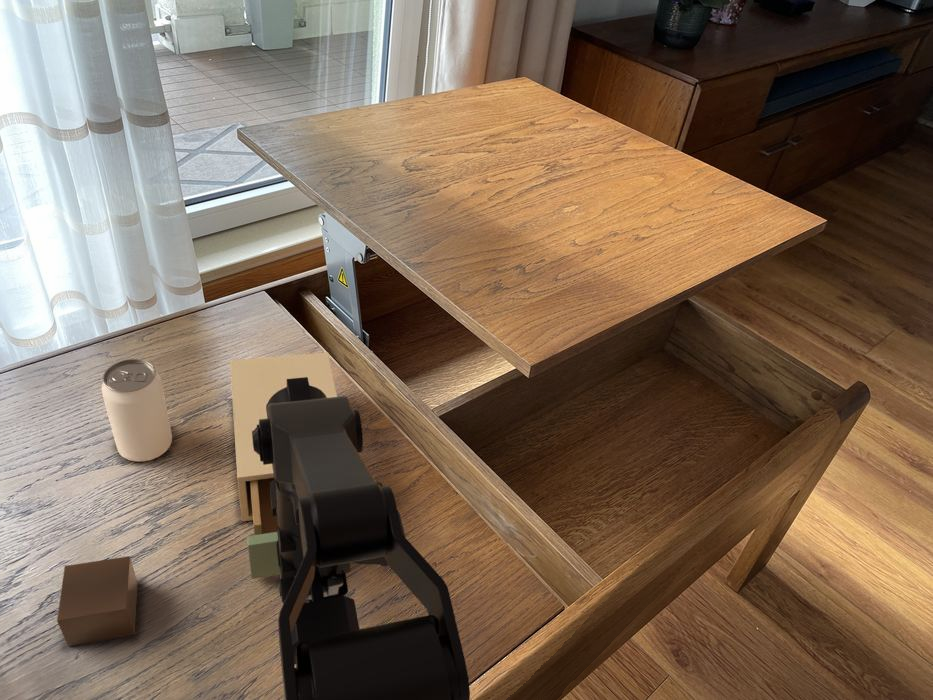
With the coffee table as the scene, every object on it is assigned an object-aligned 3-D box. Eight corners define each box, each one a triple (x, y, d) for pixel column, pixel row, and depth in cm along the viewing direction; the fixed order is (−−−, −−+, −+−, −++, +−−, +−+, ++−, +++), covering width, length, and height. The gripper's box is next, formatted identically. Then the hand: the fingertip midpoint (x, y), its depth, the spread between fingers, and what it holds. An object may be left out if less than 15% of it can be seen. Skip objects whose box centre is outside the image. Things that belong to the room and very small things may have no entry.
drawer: (363, 600, 77) (366, 568, 73) (254, 620, 74) (250, 587, 70) (332, 440, 94) (333, 407, 90) (242, 451, 91) (239, 416, 86)
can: (124, 424, 92) (107, 355, 85) (177, 425, 93) (164, 357, 86) (111, 463, 87) (91, 393, 80) (167, 464, 89) (152, 395, 81)
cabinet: (349, 506, 88) (351, 463, 82) (242, 521, 84) (237, 477, 79) (327, 395, 101) (328, 352, 96) (234, 404, 98) (230, 360, 92)
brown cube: (134, 634, 72) (126, 608, 69) (68, 646, 70) (56, 620, 67) (137, 582, 76) (129, 555, 73) (75, 592, 75) (64, 565, 71)
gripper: (426, 589, 58) (409, 677, 68) (382, 422, 71) (373, 516, 81) (285, 615, 55) (289, 703, 65) (266, 435, 68) (272, 532, 78)
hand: (311, 604), depth 72 cm, fingers closed
